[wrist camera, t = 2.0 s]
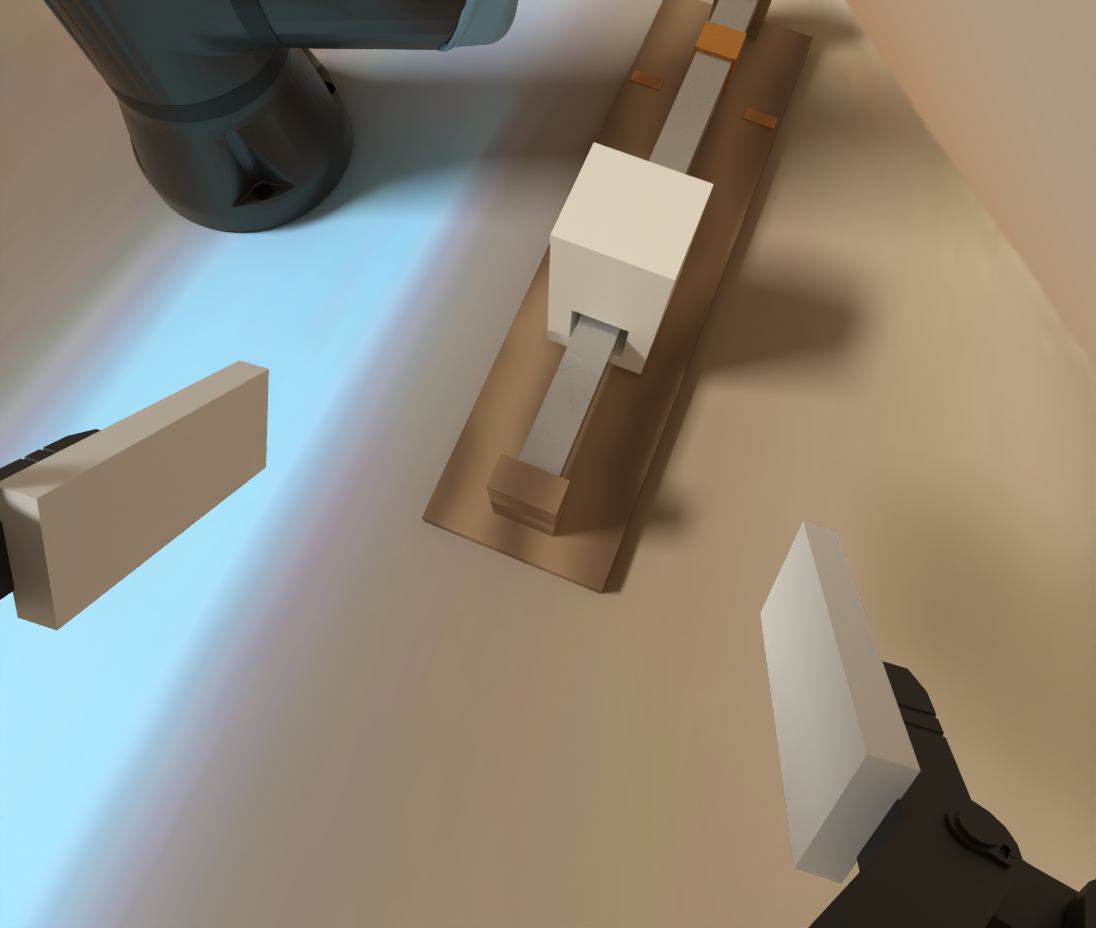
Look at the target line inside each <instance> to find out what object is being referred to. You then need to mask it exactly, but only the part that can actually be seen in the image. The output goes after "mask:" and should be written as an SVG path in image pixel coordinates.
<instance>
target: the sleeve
mask: <svg viewBox="0 0 1096 928" xmlns="http://www.w3.org/2000/svg"><path fill="white" fill-rule="evenodd" d="M713 185H714V184H712V183H709V182H706V181H703V180H700V179H698V178H695V177H692V176H689V175H686V174H683V173H680V172H678V171H675V170H672V169H669V168H666V167H663V166H660V165H658V164H655V163H652V162H649V161H646V160H643V159H640V158H638V157H635V156H632V155H629V154H626V153H623V152H620V151H618V150H615V149H612V148H609V147H606V146H603V145H600V144H598V143H595V142H594V143H593V145H592V147H591V149H590V152H589V154H588V156H587V158H586V160H585V162H584V164H583V167H582V169H581V171H580V173H579V175H578V177H577V179H576V182H575V184H574V186H573V188H572V190H571V192H570V194H569V196H568V199H567V201H566V203H565V205H564V207H563V209H562V211H561V214H560V216H559V218H558V220H557V222H556V224H555V226H554V229H553V231H552V233H551V237H550V267H549V297H548V328H547V339H548V340H551V341H554V342H556V343H559V344H561V345H564V346H567V347H568V344H569V342H570V340H571V337H572V335H573V333H574V331H575V328H576V326H577V324H578V321H579V319H580V317H581V314H583V315H586V316H588V317H591V318H594V319H596V320H599V321H602V322H604V323H607V324H610V325H612V326H615V327H618V328H620V329H623V331H622V334H621V336H620V339H619V341H618V343H617V346H616V348H615V351H614V353H613V355H612V358H611V360H610V363H612V364H614V365H617V366H619V367H622V368H625V369H627V370H630V371H633V372H635V373H638V374H641V372H642V370H643V367H644V365H645V362H646V360H647V357H648V355H649V352H650V350H651V347H652V345H653V342H654V340H655V337H656V335H657V332H658V330H659V327H660V325H661V322H662V320H663V317H664V315H665V312H666V310H667V307H668V305H669V302H670V300H671V297H672V294H673V292H674V289H675V286H676V284H677V281H678V278H679V276H680V273H681V270H682V268H683V265H684V262H685V260H686V257H687V254H688V252H689V249H690V246H691V244H692V241H693V238H694V236H695V233H696V230H697V228H698V225H699V222H700V220H701V217H702V214H703V212H704V209H705V206H706V204H707V201H708V198H709V196H710V193H711V190H712V188H713Z"/></svg>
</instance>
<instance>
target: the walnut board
mask: <svg viewBox="0 0 1096 928" xmlns="http://www.w3.org/2000/svg"><path fill="white" fill-rule="evenodd" d="M718 1H719V0H714V2H713V5H712V4H709V3H706V2H703V1H700V0H663V1H662V4H661V6H660V8H659V10H658V12H657V14H656V17H655V19H654V21H653V23H652V25H651V27H650V29H649V32H648V34H647V36H646V38H645V40H644V42H643V44H642V47H641V49H640V51H639V53H638V55H637V57H636V59H635V62H634V64H633V66H632V68H631V70H630V72H629V74H628V77H627V79H626V81H625V83H624V85H623V87H622V89H621V92H620V94H619V96H618V98H617V100H616V102H615V104H614V107H613V109H612V111H611V113H610V115H609V117H608V120H607V122H606V124H605V126H604V128H603V130H602V132H601V135H600V137H599V139H598V141H597V143H598V144H600V145H603V146H606V147H609V148H612V149H615V150H618V151H620V152H623V153H626V154H629V155H632V156H635V157H638V158H640V159H643V160H646V161H649V159H650V157H651V154H652V152H653V150H654V147H655V145H656V143H657V141H658V138H659V136H660V134H661V131H662V129H663V127H664V125H665V122H666V120H667V118H668V115H669V113H670V111H671V109H672V106H673V104H674V102H675V99H676V97H677V95H678V93H679V90H680V88H681V86H682V83H683V81H684V79H685V77H686V74H687V72H688V70H689V67H690V64H691V60H692V56H693V53H694V49H695V45H696V43H697V41H698V39H699V36H700V34H701V32H702V29H703V27H704V25H705V23H706V20H707V21H710V19H711V17H712V15H713V13H714V10H715V8H716V6H717V3H718ZM770 3H771V0H760V1H759V4H758V7H757V9H756V12H755V14H754V16H753V19H752V21H751V24H750V26H749V28H748V31H747V34H746V37H745V40H744V43H743V46H742V49H741V52H740V55H739V58H738V61H737V64H736V67H735V70H734V72H733V75H732V77H731V79H730V82H729V84H728V87H727V89H726V91H725V94H724V93H721V96H720V98H719V101H718V103H717V105H716V108H715V110H714V113H713V115H712V117H711V120H710V122H709V125H708V127H707V129H706V132H705V134H704V137H703V139H702V141H701V144H700V146H699V149H698V151H697V153H696V156H695V158H694V161H693V163H692V165H691V168H690V170H689V173H688V175H689V176H692V177H695V178H698V179H700V180H703V181H706V182H709V183H712V184H714V185H713V188H712V190H711V193H710V196H709V198H708V201H707V204H706V206H705V209H704V212H703V214H702V217H701V220H700V222H699V225H698V228H697V230H696V233H695V236H694V238H693V241H692V244H691V246H690V249H689V252H688V254H687V257H686V260H685V262H684V265H683V268H682V270H681V273H680V276H679V278H678V281H677V284H676V286H675V289H674V292H673V294H672V297H671V300H670V302H669V305H668V307H667V310H666V312H665V315H664V317H663V320H662V322H661V325H660V327H659V330H658V332H657V335H656V337H655V340H654V342H653V345H652V347H651V350H650V352H649V355H648V357H647V360H646V362H645V365H644V367H643V370H642V372H641V374H638V373H635V372H633V371H630V370H627V369H625V368H622V367H619V366H617V365H614V364H612V363H609V365H608V367H607V370H606V372H605V375H604V377H603V380H602V382H601V384H600V387H599V389H598V392H597V394H596V396H595V399H594V401H593V404H592V406H591V408H590V411H589V413H588V416H587V418H586V420H585V423H584V425H583V428H582V430H581V432H580V435H579V437H578V440H577V442H576V444H575V447H574V449H573V452H572V454H571V456H570V459H569V461H568V464H567V466H566V469H565V471H564V473H563V476H562V477H559V476H557V475H554V474H552V473H549V472H547V471H544V470H542V469H539V468H537V467H534V466H532V465H529V464H527V463H524V462H522V461H519V460H518V459H519V456H520V454H521V452H522V449H523V447H524V445H525V443H526V440H527V438H528V436H529V433H530V431H531V429H532V427H533V424H534V422H535V420H536V417H537V415H538V413H539V411H540V408H541V406H542V404H543V401H544V399H545V397H546V395H547V392H548V390H549V388H550V385H551V383H552V381H553V379H554V376H555V374H556V372H557V369H558V367H559V365H560V363H561V360H562V358H563V356H564V353H565V351H566V349H567V346H564V345H561V344H559V343H556V342H554V341H551V340H548V339H547V328H548V297H549V267H550V244H549V246H548V248H547V250H546V253H545V255H544V257H543V259H542V261H541V263H540V265H539V268H538V270H537V272H536V274H535V276H534V278H533V280H532V283H531V285H530V287H529V289H528V291H527V293H526V295H525V298H524V300H523V302H522V304H521V306H520V308H519V311H518V313H517V315H516V317H515V319H514V321H513V323H512V326H511V328H510V330H509V332H508V334H507V336H506V338H505V341H504V343H503V345H502V347H501V349H500V351H499V353H498V356H497V358H496V360H495V362H494V364H493V366H492V368H491V371H490V373H489V375H488V377H487V379H486V381H485V383H484V386H483V388H482V390H481V392H480V394H479V396H478V399H477V401H476V403H475V405H474V407H473V409H472V411H471V414H470V416H469V418H468V420H467V422H466V424H465V426H464V429H463V431H462V433H461V435H460V437H459V439H458V441H457V444H456V446H455V448H454V450H453V452H452V454H451V456H450V459H449V461H448V463H447V465H446V467H445V469H444V471H443V474H442V476H441V478H440V480H439V482H438V484H437V486H436V489H435V491H434V493H433V495H432V497H431V499H430V502H429V504H428V506H427V508H426V510H425V512H424V514H423V517H422V519H423V520H424V521H425V522H427V523H430V524H432V525H435V526H437V527H439V528H442V529H444V530H447V531H449V532H452V533H454V534H456V535H459V536H461V537H464V538H466V539H469V540H471V541H473V542H476V543H478V544H481V545H483V546H486V547H488V548H490V549H493V550H495V551H498V552H500V553H503V554H505V555H507V556H510V557H512V558H515V559H517V560H520V561H522V562H524V563H527V564H529V565H532V566H534V567H537V568H539V569H541V570H544V571H546V572H549V573H551V574H554V575H556V576H559V577H561V578H563V579H566V580H568V581H571V582H573V583H576V584H578V585H580V586H583V587H585V588H588V589H590V590H593V591H595V592H597V593H601V592H602V590H603V587H604V585H605V582H606V579H607V577H608V574H609V571H610V569H611V566H612V564H613V561H614V558H615V556H616V553H617V550H618V548H619V545H620V543H621V540H622V537H623V535H624V532H625V529H626V527H627V524H628V522H629V519H630V516H631V514H632V511H633V508H634V506H635V503H636V501H637V498H638V495H639V493H640V490H641V487H642V485H643V482H644V480H645V477H646V474H647V472H648V469H649V466H650V464H651V461H652V459H653V456H654V453H655V451H656V448H657V445H658V443H659V440H660V438H661V435H662V432H663V430H664V427H665V424H666V422H667V419H668V417H669V414H670V411H671V409H672V406H673V403H674V401H675V398H676V396H677V393H678V390H679V388H680V385H681V383H682V380H683V377H684V375H685V372H686V369H687V367H688V364H689V362H690V359H691V356H692V354H693V351H694V348H695V346H696V343H697V341H698V338H699V335H700V333H701V330H702V327H703V325H704V322H705V320H706V317H707V314H708V312H709V309H710V306H711V304H712V301H713V299H714V296H715V293H716V291H717V288H718V285H719V283H720V280H721V278H722V275H723V272H724V270H725V267H726V264H727V262H728V259H729V257H730V254H731V251H732V249H733V246H734V243H735V241H736V238H737V236H738V233H739V230H740V228H741V225H742V222H743V220H744V217H745V215H746V212H747V209H748V207H749V204H750V201H751V199H752V196H753V194H754V191H755V188H756V186H757V183H758V180H759V178H760V175H761V173H762V170H763V167H764V165H765V162H766V159H767V157H768V154H769V152H770V149H771V146H772V144H773V141H774V138H775V136H776V133H777V131H778V128H779V125H780V123H781V120H782V117H783V115H784V112H785V110H786V107H787V104H788V102H789V99H790V96H791V94H792V91H793V89H794V86H795V83H796V81H797V78H798V75H799V73H800V70H801V68H802V65H803V62H804V60H805V57H806V55H807V52H808V49H809V47H810V44H811V41H812V39H813V37H810V36H807V35H804V34H801V33H798V32H795V31H792V30H789V29H786V28H783V27H780V26H776V25H773V24H770V23H767V22H764V20H765V17H766V14H767V12H768V9H769V6H770Z"/></svg>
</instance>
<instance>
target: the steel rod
mask: <svg viewBox="0 0 1096 928" xmlns="http://www.w3.org/2000/svg"><path fill="white" fill-rule="evenodd" d="M759 1H760V0H719V1H718V3H717V6H716V8H715V10H714V13H713V15H712V17H711V19H710V21H707V20H706V23H705V25H704V27H703V29H702V32H701V34H700V36H699V39H698V41H697V43H696V45H695V49H694V53H693V56H692V60H691V64H690V67H689V70H688V72H687V74H686V77H685V79H684V81H683V83H682V86H681V88H680V90H679V93H678V95H677V97H676V99H675V102H674V104H673V106H672V109H671V111H670V113H669V115H668V118H667V120H666V122H665V125H664V127H663V129H662V131H661V134H660V136H659V138H658V141H657V143H656V145H655V147H654V150H653V152H652V154H651V157H650V159H649V162H652V163H655V164H658V165H660V166H663V167H666V168H669V169H672V170H675V171H678V172H680V173H683V174H686V175H688V173H689V170H690V168H691V165H692V163H693V161H694V158H695V156H696V153H697V151H698V149H699V146H700V144H701V141H702V139H703V137H704V134H705V132H706V129H707V127H708V125H709V122H710V120H711V117H712V115H713V113H714V110H715V108H716V105H717V103H718V101H719V98H720V96H721V93H724V94H725V91H726V89H727V87H728V84H729V82H730V79H731V77H732V75H733V72H734V70H735V67H736V64H737V61H738V58H739V55H740V52H741V49H742V46H743V43H744V40H745V37H746V34H747V31H748V28H749V26H750V24H751V21H752V19H753V16H754V14H755V12H756V9H757V7H758V4H759ZM622 331H623V329H620V328H618V327H615V326H612V325H610V324H607V323H604V322H602V321H599V320H596V319H594V318H591V317H588V316H586V315H583V314H581V317H580V319H579V321H578V324H577V326H576V328H575V331H574V333H573V335H572V337H571V340H570V342H569V344H568V347H567V349H566V351H565V353H564V356H563V358H562V360H561V363H560V365H559V367H558V369H557V372H556V374H555V376H554V379H553V381H552V383H551V385H550V388H549V390H548V392H547V395H546V397H545V399H544V401H543V404H542V406H541V408H540V411H539V413H538V415H537V417H536V420H535V422H534V424H533V427H532V429H531V431H530V433H529V436H528V438H527V440H526V443H525V445H524V447H523V449H522V452H521V454H520V456H519V459H518V460H519V461H522V462H524V463H527V464H529V465H532V466H534V467H537V468H539V469H542V470H544V471H547V472H549V473H552V474H554V475H557V476H559V477H562V476H563V473H564V471H565V469H566V466H567V464H568V461H569V459H570V456H571V454H572V452H573V449H574V447H575V444H576V442H577V440H578V437H579V435H580V432H581V430H582V428H583V425H584V423H585V420H586V418H587V416H588V413H589V411H590V408H591V406H592V404H593V401H594V399H595V396H596V394H597V392H598V389H599V387H600V384H601V382H602V380H603V377H604V375H605V372H606V370H607V367H608V365H609V363H610V360H611V358H612V355H613V353H614V351H615V348H616V346H617V343H618V341H619V339H620V336H621V334H622Z"/></svg>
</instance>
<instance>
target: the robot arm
mask: <svg viewBox="0 0 1096 928" xmlns="http://www.w3.org/2000/svg"><path fill="white" fill-rule="evenodd" d="M44 2H45V3H46V4H47V6H48V7H49V8H50V9H51V11H52V12H53V13H54V15H55V16H56V17H57V19H58V20H59V21H60V23H61V24H62V25H63V26H64V28H65V29H66V30H67V32H68V33H69V34H70V36H71V37H72V38H73V40H74V41H75V42H76V43H77V45H78V46H79V47H80V49H81V50H82V51H83V53H84V54H85V55H86V57H87V58H88V59H89V61H90V62H91V63H92V65H93V66H94V67H95V69H96V70H97V71H98V72H99V74H100V75H101V76H102V77H103V79H104V80H105V81H106V83H107V84H108V86H109V87H110V88H111V90H112V91H113V92H114V94H115V95H116V97H117V100H118V102H119V105H120V108H121V111H122V114H123V117H124V120H125V123H126V126H127V129H128V131H129V134H130V139H131V144H132V147H133V152H134V155H135V158H136V161H137V163H138V165H139V167H140V169H141V171H142V173H143V174H144V176H145V177H146V179H147V180H148V181H149V183H150V184H151V185H152V186H153V188H154V189H155V190H156V191H157V193H158V194H159V195H160V196H161V197H162V199H163V200H164V201H165V202H166V203H167V204H168V205H169V206H170V207H171V208H172V209H173V210H174V211H176V212H177V213H178V214H180V215H181V216H183V217H184V218H186V219H188V220H190V221H192V222H194V223H196V224H199V225H202V226H205V227H208V228H212V229H217V230H222V231H233V232H246V231H256V230H263V229H267V228H271V227H275V226H278V225H281V224H284V223H287V222H289V221H291V220H293V219H296V218H298V217H299V216H301V215H303V214H305V213H306V212H308V211H309V210H311V209H312V208H314V207H315V206H316V205H318V204H319V203H320V202H321V201H322V200H323V199H324V198H325V197H326V196H327V195H328V194H329V193H330V192H331V191H332V190H333V189H334V187H335V186H336V185H337V183H338V182H339V180H340V179H341V177H342V175H343V173H344V171H345V169H346V167H347V165H348V162H349V159H350V154H351V149H352V127H351V122H350V118H349V115H348V112H347V109H346V107H345V104H344V101H343V98H342V95H341V93H340V91H339V89H338V87H337V85H336V83H335V81H334V80H333V78H332V77H331V75H330V74H329V73H328V71H327V70H326V69H325V68H324V67H323V66H322V64H321V63H320V62H319V61H318V59H317V58H316V57H315V56H314V55H313V53H312V52H311V51H310V50H309V49H308V48H314V49H406V50H438V51H448V50H451V49H452V48H454V47H463V46H476V45H487V44H492V43H495V42H497V41H499V40H500V39H501V38H502V37H503V36H504V35H505V34H506V33H507V32H508V30H509V29H510V27H511V25H512V23H513V20H514V17H515V14H516V9H517V5H518V0H44ZM268 373H269V369H267V368H263V367H259V366H256V365H252V364H249V363H245V362H242V361H238V362H236V363H234V364H232V365H230V366H228V367H226V368H224V369H222V370H220V371H218V372H216V373H214V374H212V375H210V376H208V377H206V378H204V379H202V380H200V381H198V382H196V383H194V384H192V385H190V386H188V387H186V388H184V389H182V390H180V391H178V392H176V393H174V394H172V395H170V396H168V397H166V398H164V399H162V400H160V401H158V402H156V403H154V404H152V405H150V406H148V407H147V408H145V409H143V410H141V411H139V412H137V413H135V414H133V415H131V416H129V417H127V418H125V419H123V420H121V421H119V422H117V423H115V424H113V425H111V426H109V427H107V428H105V429H103V430H97V429H94V430H90V431H86V432H82V433H78V434H74V435H69V436H66V437H64V438H62V439H60V440H58V441H56V442H54V443H52V444H50V445H48V446H45V447H44V449H43V450H37V451H35V452H33V453H31V454H29V455H27V456H25V459H24V460H23V459H19V460H17V461H15V462H13V463H10V464H8V465H6V466H4V467H2V468H0V600H1V599H2V598H4V597H5V596H7V595H8V594H9V593H11V592H12V591H13V595H14V600H15V605H16V611H17V616H18V618H21V619H24V620H27V621H30V622H33V623H36V624H39V625H42V626H45V627H49V628H52V629H55V630H58V629H60V628H61V627H62V626H63V625H65V624H66V623H67V622H69V621H70V620H71V619H72V618H74V617H75V616H76V615H77V614H79V613H80V612H81V611H83V610H84V609H85V608H86V607H88V606H89V605H90V604H92V603H93V602H94V601H95V600H97V599H98V598H99V597H100V596H102V595H103V594H104V593H106V592H107V591H108V590H109V589H111V588H112V587H113V586H115V585H116V584H117V583H118V582H120V581H121V580H122V579H123V578H125V577H126V576H127V575H129V574H130V573H131V572H132V571H134V570H135V569H136V568H138V567H139V566H140V565H141V564H143V563H144V562H145V561H147V560H148V559H149V558H150V557H152V556H153V555H154V554H155V553H157V552H158V551H159V550H161V549H162V548H163V547H164V546H166V545H167V544H168V543H170V542H171V541H172V540H173V539H175V538H176V537H177V536H178V535H180V534H181V533H182V532H184V531H185V530H186V529H187V528H189V527H190V526H191V525H193V524H194V523H195V522H196V521H198V520H199V519H200V518H201V517H203V516H204V515H205V514H207V513H208V512H209V511H210V510H212V509H213V508H214V507H216V506H217V505H218V504H219V503H221V502H222V501H223V500H224V499H226V498H227V497H228V496H230V495H231V494H232V493H233V492H235V491H236V490H237V489H239V488H240V487H241V486H242V485H244V484H245V483H246V482H247V481H249V480H250V479H251V478H253V477H254V476H255V475H256V474H258V473H259V472H260V471H262V470H263V469H264V468H265V467H266V449H267V411H268ZM760 614H761V621H762V629H763V636H764V643H765V651H766V658H767V666H768V673H769V681H770V688H771V696H772V703H773V711H774V718H775V726H776V733H777V741H778V748H779V756H780V763H781V771H782V778H783V786H784V793H785V801H786V808H787V816H788V823H789V831H790V838H791V846H792V853H793V861H794V868H796V869H799V870H802V871H805V872H808V873H811V874H814V875H818V876H821V877H824V878H827V879H830V880H833V881H836V882H839V883H842V882H843V880H844V879H845V877H846V876H847V875H848V873H849V872H850V870H851V869H852V868H853V866H854V865H855V863H856V862H857V861H858V866H859V870H860V872H859V873H858V875H857V876H856V877H855V878H854V879H853V880H852V881H851V882H850V883H849V884H848V885H847V886H846V888H845V889H844V890H843V891H842V892H841V893H840V894H839V895H838V896H837V897H836V898H835V899H834V901H833V902H832V903H831V904H830V905H829V906H828V907H827V908H826V909H825V910H824V911H823V912H822V914H821V915H820V916H819V917H818V918H817V919H816V920H815V921H814V922H813V923H812V924H811V925H810V927H809V928H1096V879H1095V880H1092V881H1089V882H1088V883H1087V884H1086V885H1085V886H1084V887H1083V888H1082V889H1081V890H1080V891H1079V892H1077V891H1076V890H1074V889H1072V888H1070V887H1069V886H1067V885H1065V884H1063V883H1061V882H1060V881H1058V880H1056V879H1054V878H1053V877H1051V876H1049V875H1047V874H1046V873H1044V872H1042V871H1040V870H1038V869H1037V868H1035V867H1033V866H1032V865H1030V864H1028V863H1027V862H1025V861H1024V860H1023V859H1022V856H1021V853H1020V850H1019V848H1018V845H1017V843H1016V842H1015V840H1014V839H1013V837H1012V836H1011V834H1010V833H1009V831H1008V830H1007V829H1006V827H1005V826H1004V825H1003V824H1002V823H1001V822H1000V821H998V820H997V819H996V818H995V817H994V816H993V815H992V814H991V813H990V812H989V811H987V810H986V809H984V808H983V807H981V806H980V805H978V804H977V803H975V802H974V801H972V800H971V798H970V796H969V793H968V791H967V788H966V786H965V784H964V781H963V779H962V776H961V774H960V771H959V769H958V766H957V764H956V762H955V759H954V757H953V754H952V752H951V749H950V747H949V745H948V742H947V740H946V738H945V737H943V734H944V732H943V730H942V728H941V725H940V723H939V720H938V719H937V718H935V716H936V713H935V711H934V708H933V706H932V703H931V701H930V698H929V696H928V694H927V691H926V690H925V689H924V688H923V687H922V685H921V684H920V683H919V682H918V681H917V679H916V678H915V677H914V676H913V675H912V673H911V672H910V671H909V670H908V669H907V668H903V667H900V666H897V665H893V664H890V663H887V662H883V661H882V659H881V656H880V653H879V651H878V648H877V645H876V642H875V639H874V636H873V633H872V631H871V628H870V625H869V622H868V619H867V616H866V613H865V611H864V608H863V605H862V602H861V599H860V596H859V594H858V591H857V588H856V585H855V582H854V579H853V576H852V574H851V571H850V568H849V565H848V562H847V559H846V557H845V554H844V551H843V548H842V545H841V542H840V539H839V537H838V534H837V531H835V530H832V529H828V528H824V527H821V526H817V525H814V524H810V523H807V522H803V523H802V525H801V527H800V530H799V532H798V534H797V536H796V538H795V540H794V543H793V545H792V547H791V549H790V551H789V553H788V555H787V558H786V560H785V562H784V564H783V566H782V568H781V570H780V573H779V575H778V577H777V579H776V581H775V583H774V585H773V588H772V590H771V592H770V594H769V596H768V598H767V601H766V603H765V605H764V607H763V609H762V611H761V613H760Z"/></svg>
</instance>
